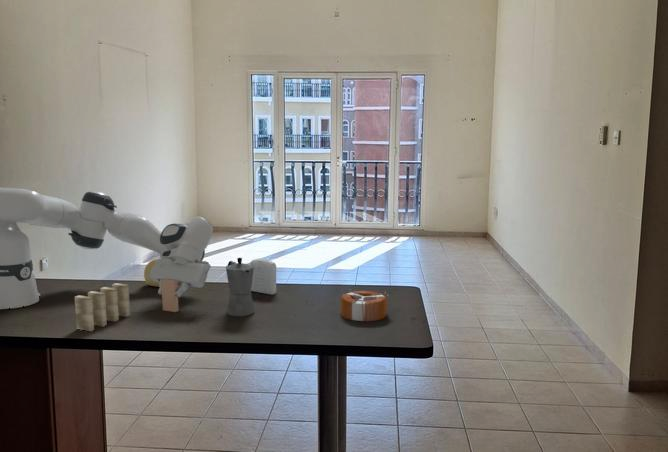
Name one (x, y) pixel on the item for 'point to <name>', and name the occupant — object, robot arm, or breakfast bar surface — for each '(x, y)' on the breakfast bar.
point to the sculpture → (147, 271)
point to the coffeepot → (240, 288)
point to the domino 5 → (169, 295)
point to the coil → (363, 306)
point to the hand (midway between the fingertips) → (168, 294)
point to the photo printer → (264, 276)
